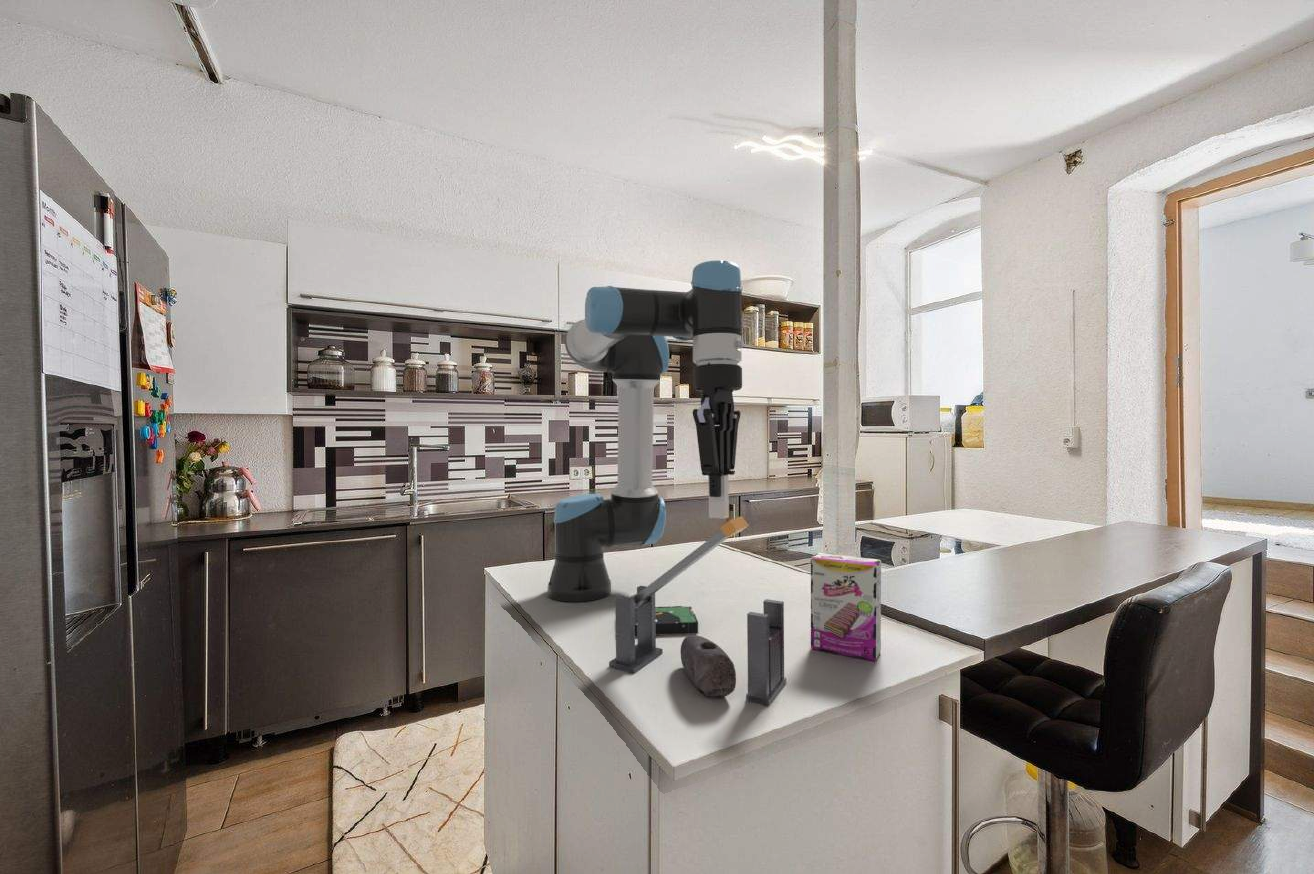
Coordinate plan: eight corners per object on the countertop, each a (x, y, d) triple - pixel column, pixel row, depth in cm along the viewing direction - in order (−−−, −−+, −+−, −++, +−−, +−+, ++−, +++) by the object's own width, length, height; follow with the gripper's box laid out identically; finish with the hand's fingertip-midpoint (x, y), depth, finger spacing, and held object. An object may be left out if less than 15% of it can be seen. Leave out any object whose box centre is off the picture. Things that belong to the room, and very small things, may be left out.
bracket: (638, 647, 98) (637, 584, 98) (662, 653, 96) (661, 587, 96) (609, 666, 91) (608, 597, 91) (634, 673, 88) (633, 601, 88)
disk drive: (622, 639, 104) (699, 635, 105) (621, 625, 104) (699, 621, 105) (620, 621, 114) (691, 617, 116) (620, 607, 114) (690, 604, 116)
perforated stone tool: (671, 665, 91) (670, 624, 91) (700, 661, 93) (700, 620, 93) (705, 709, 77) (704, 660, 77) (739, 703, 78) (739, 655, 78)
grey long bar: (642, 606, 95) (635, 595, 96) (749, 526, 85) (741, 514, 86) (627, 614, 91) (620, 602, 92) (737, 531, 81) (729, 519, 82)
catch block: (764, 678, 86) (764, 598, 86) (786, 683, 84) (785, 601, 84) (745, 700, 79) (745, 613, 79) (768, 705, 77) (768, 617, 77)
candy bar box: (809, 650, 97) (809, 557, 97) (817, 640, 101) (816, 551, 101) (877, 663, 91) (876, 564, 91) (882, 652, 95) (881, 558, 95)
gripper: (722, 358, 77) (724, 525, 78) (755, 367, 88) (756, 513, 89) (675, 362, 81) (677, 521, 81) (713, 370, 92) (714, 510, 93)
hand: (718, 517), depth 85 cm, fingers closed
